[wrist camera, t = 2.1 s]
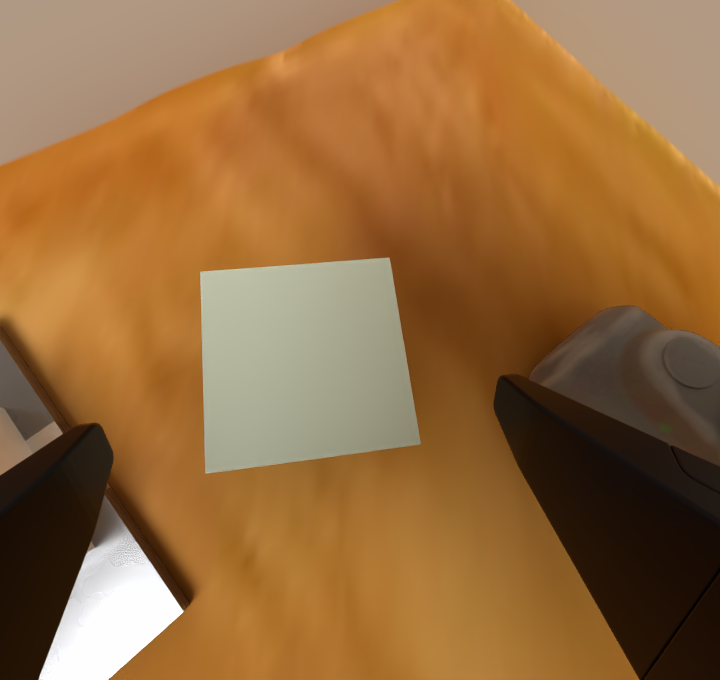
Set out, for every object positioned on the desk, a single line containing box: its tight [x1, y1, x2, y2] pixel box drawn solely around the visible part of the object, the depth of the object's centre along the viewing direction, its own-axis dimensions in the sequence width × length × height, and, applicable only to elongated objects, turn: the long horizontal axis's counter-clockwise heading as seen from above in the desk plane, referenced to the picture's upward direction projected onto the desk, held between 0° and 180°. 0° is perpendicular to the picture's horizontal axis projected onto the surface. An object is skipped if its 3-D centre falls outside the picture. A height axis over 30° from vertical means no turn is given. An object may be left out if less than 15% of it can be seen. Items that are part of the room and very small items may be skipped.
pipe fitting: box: [529, 306, 720, 466], centre depth 15 cm, size 12×8×10 cm
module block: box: [200, 258, 421, 474], centre depth 14 cm, size 4×4×10 cm
